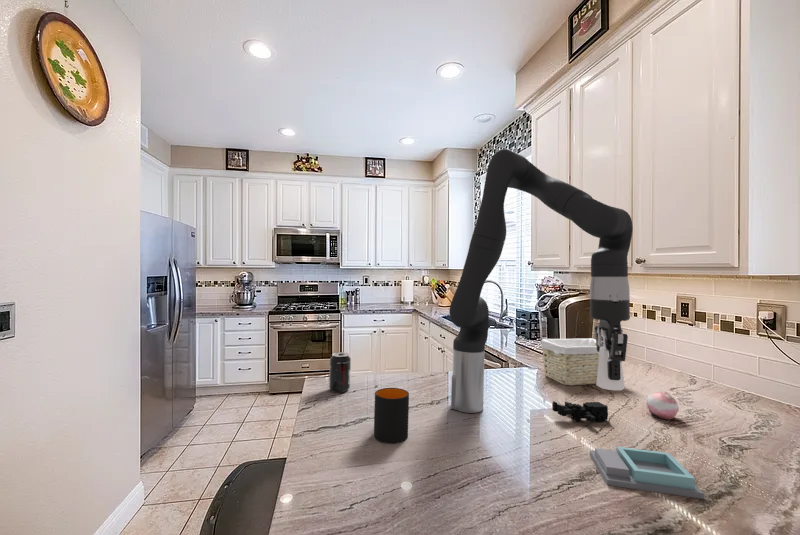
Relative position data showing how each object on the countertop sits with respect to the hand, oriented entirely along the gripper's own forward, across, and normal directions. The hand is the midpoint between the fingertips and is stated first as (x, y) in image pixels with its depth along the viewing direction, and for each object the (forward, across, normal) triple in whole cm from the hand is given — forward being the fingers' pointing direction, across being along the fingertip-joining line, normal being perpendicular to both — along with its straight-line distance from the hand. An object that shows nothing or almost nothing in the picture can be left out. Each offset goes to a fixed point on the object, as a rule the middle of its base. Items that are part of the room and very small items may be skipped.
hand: (610, 376), depth 79 cm
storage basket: (+18, -67, +9) cm, 70 cm away
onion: (+19, -33, +23) cm, 45 cm away
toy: (+18, -23, -1) cm, 30 cm away
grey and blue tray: (+18, +4, +4) cm, 19 cm away
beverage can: (+16, -26, -74) cm, 80 cm away
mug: (+17, 0, -50) cm, 53 cm away
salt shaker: (+2, 0, 0) cm, 2 cm away
